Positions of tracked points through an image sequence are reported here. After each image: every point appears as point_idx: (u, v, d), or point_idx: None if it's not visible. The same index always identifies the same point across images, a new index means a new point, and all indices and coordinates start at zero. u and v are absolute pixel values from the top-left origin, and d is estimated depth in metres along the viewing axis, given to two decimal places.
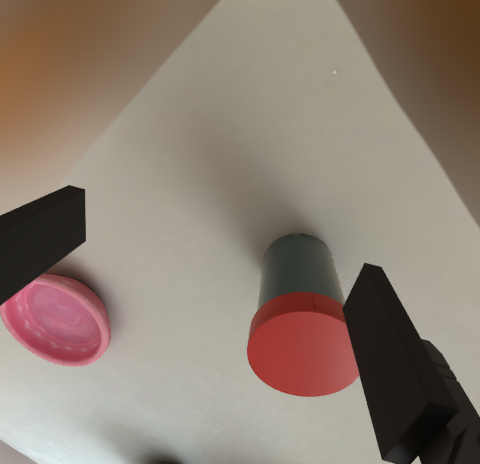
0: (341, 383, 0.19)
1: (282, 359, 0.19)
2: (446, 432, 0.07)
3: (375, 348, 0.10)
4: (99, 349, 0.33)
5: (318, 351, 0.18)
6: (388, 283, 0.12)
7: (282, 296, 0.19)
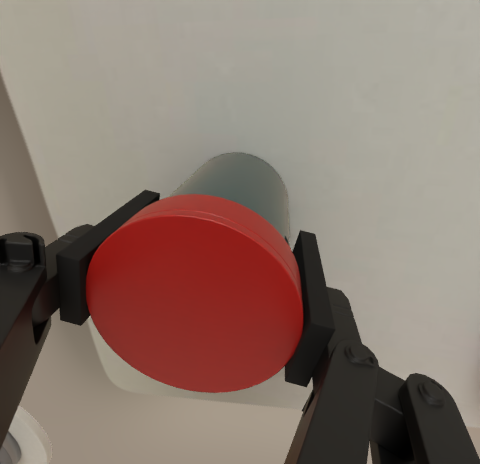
0: (156, 232, 0.09)
1: (229, 334, 0.10)
2: (326, 348, 0.09)
3: None
4: None
5: (161, 315, 0.10)
6: (315, 245, 0.13)
7: None
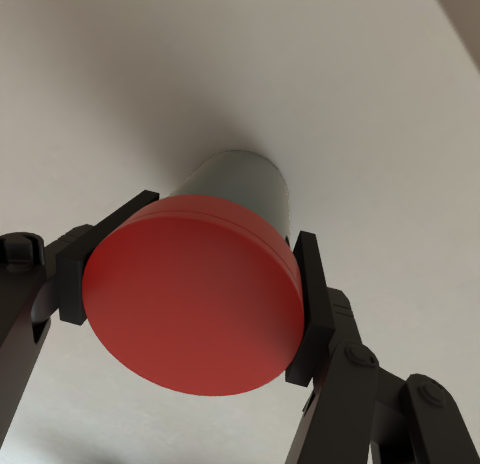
0: (155, 233, 0.08)
1: (228, 338, 0.10)
2: (327, 349, 0.09)
3: None
4: None
5: (159, 318, 0.10)
6: (315, 245, 0.13)
7: None
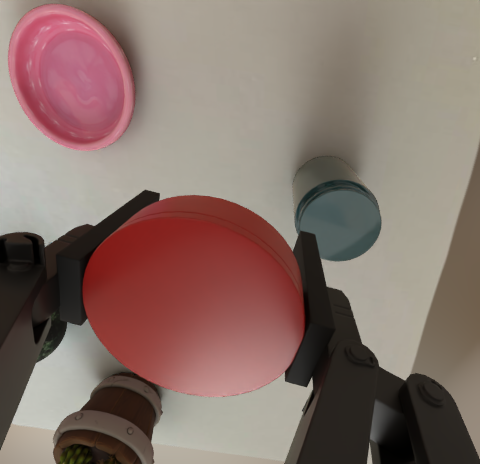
0: (155, 234, 0.08)
1: (229, 338, 0.10)
2: (327, 349, 0.09)
3: None
4: (100, 141, 0.30)
5: (160, 319, 0.10)
6: (315, 245, 0.13)
7: None
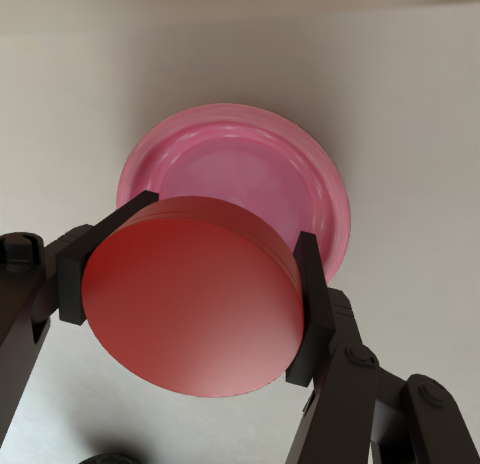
0: (154, 235, 0.08)
1: (228, 339, 0.10)
2: (327, 349, 0.09)
3: None
4: None
5: (159, 319, 0.10)
6: (316, 245, 0.13)
7: None
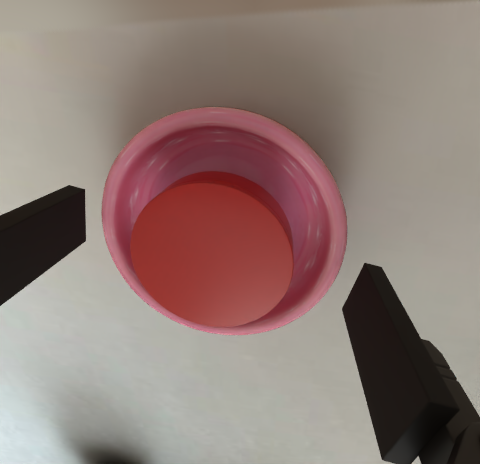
0: (187, 196, 0.12)
1: (238, 276, 0.13)
2: (447, 431, 0.07)
3: (375, 348, 0.10)
4: (258, 325, 0.17)
5: (187, 262, 0.13)
6: (388, 283, 0.12)
7: None
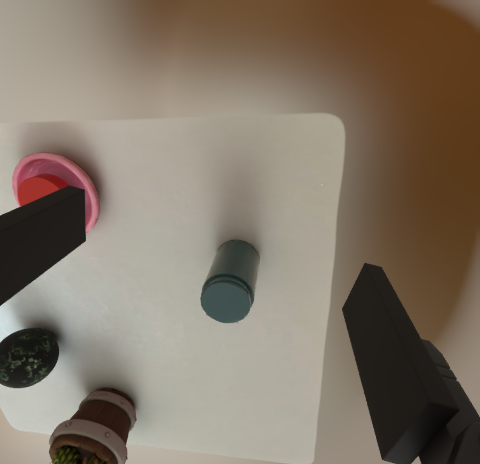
0: (31, 181, 0.38)
1: None
2: (447, 431, 0.07)
3: (375, 348, 0.10)
4: None
5: None
6: (388, 283, 0.12)
7: None
